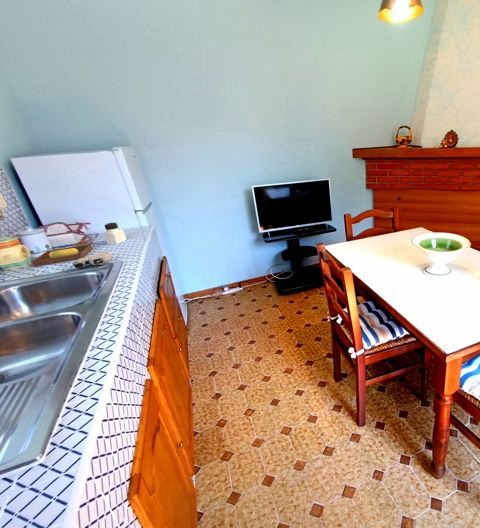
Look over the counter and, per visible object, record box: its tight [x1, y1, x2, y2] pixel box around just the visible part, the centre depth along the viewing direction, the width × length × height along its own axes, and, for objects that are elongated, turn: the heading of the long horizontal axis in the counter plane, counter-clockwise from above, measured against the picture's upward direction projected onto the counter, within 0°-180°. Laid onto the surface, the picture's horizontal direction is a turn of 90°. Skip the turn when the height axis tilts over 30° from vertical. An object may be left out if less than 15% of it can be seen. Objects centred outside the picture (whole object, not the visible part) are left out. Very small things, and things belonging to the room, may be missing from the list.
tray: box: [31, 244, 93, 268], centre depth 160 cm, size 19×19×3 cm
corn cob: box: [49, 248, 78, 258], centre depth 159 cm, size 12×4×4 cm, turn 117°
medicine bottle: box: [102, 222, 127, 245], centre depth 180 cm, size 7×7×12 cm
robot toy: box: [70, 250, 112, 269], centre depth 146 cm, size 12×4×15 cm
